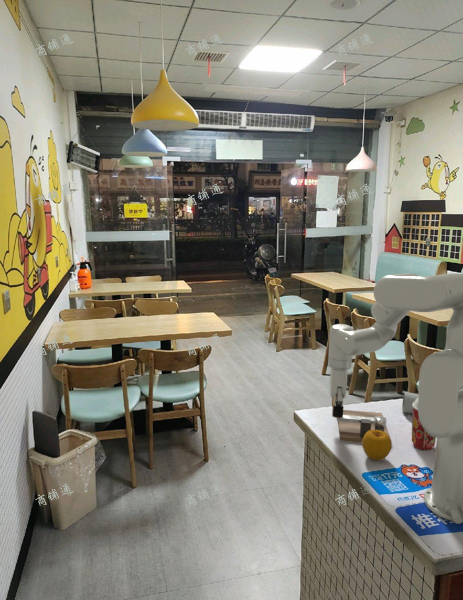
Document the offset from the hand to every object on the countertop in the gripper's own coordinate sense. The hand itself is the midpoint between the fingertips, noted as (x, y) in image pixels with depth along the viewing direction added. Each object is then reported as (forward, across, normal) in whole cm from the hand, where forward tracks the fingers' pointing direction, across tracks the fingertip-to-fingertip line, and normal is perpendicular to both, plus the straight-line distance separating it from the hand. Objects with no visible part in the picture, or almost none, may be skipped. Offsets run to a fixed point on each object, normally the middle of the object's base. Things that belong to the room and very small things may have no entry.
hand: (337, 411), depth 145 cm
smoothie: (+8, +4, +27) cm, 28 cm away
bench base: (+8, -4, +9) cm, 13 cm away
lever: (+3, 0, +7) cm, 8 cm away
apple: (+8, +14, +11) cm, 19 cm away
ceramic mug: (+8, -21, +29) cm, 37 cm away
